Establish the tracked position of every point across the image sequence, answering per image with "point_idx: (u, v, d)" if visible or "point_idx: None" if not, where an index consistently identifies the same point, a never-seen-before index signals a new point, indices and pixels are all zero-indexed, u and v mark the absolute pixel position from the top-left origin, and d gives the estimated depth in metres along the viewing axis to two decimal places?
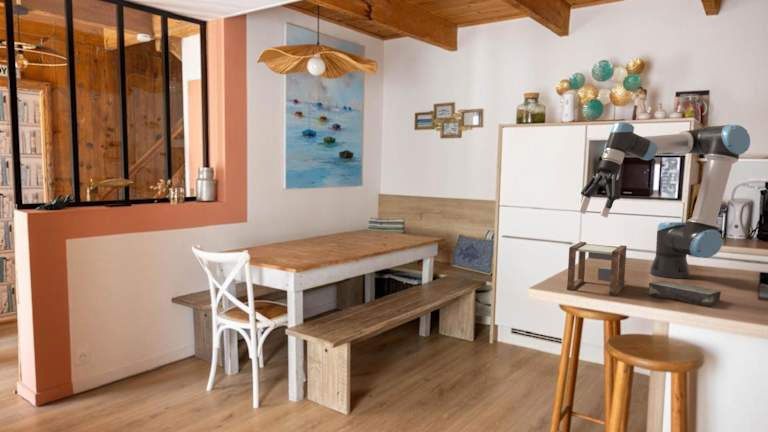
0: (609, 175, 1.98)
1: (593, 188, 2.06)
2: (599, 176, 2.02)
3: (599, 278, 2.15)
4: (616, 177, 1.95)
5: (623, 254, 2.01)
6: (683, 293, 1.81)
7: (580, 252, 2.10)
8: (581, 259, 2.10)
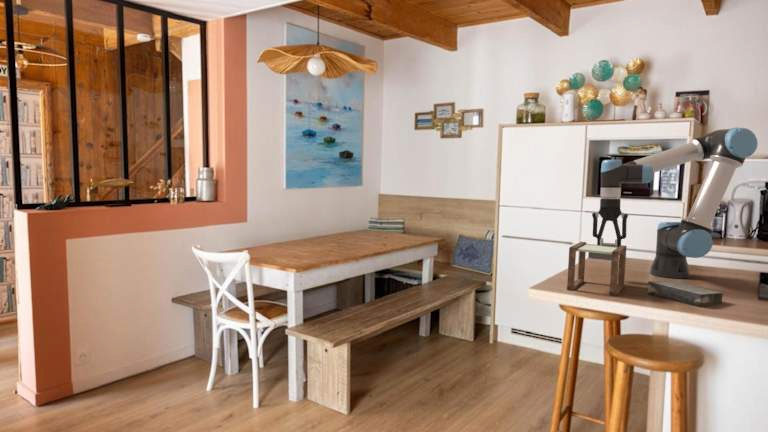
0: (618, 212, 2.11)
1: (603, 227, 2.15)
2: (606, 214, 2.12)
3: None
4: (626, 217, 2.10)
5: (623, 254, 2.01)
6: (677, 293, 1.82)
7: (580, 252, 2.10)
8: (581, 259, 2.10)
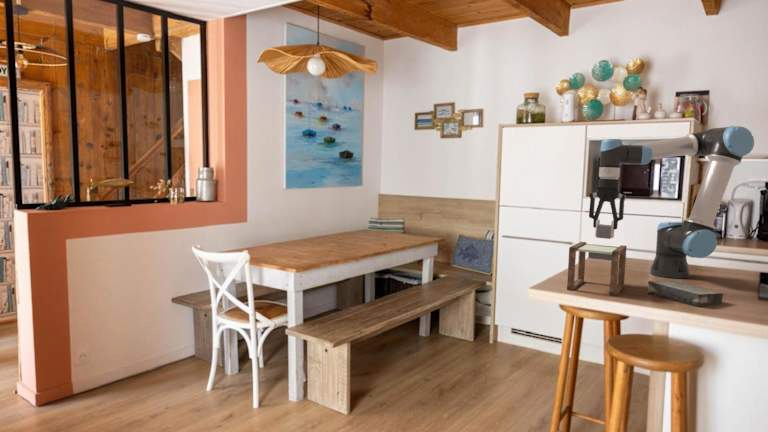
0: (616, 193, 2.06)
1: (600, 208, 2.11)
2: (603, 194, 2.08)
3: (597, 235, 2.10)
4: (624, 199, 2.05)
5: (623, 254, 2.01)
6: (676, 292, 1.82)
7: (580, 252, 2.10)
8: (581, 259, 2.10)
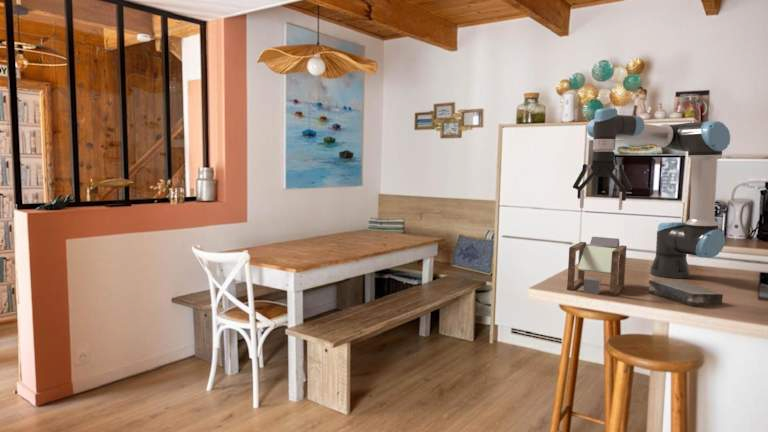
0: (612, 166, 1.92)
1: (589, 181, 1.98)
2: (598, 168, 1.94)
3: None
4: (622, 168, 1.91)
5: (623, 254, 2.01)
6: (673, 292, 1.83)
7: (580, 252, 2.10)
8: None
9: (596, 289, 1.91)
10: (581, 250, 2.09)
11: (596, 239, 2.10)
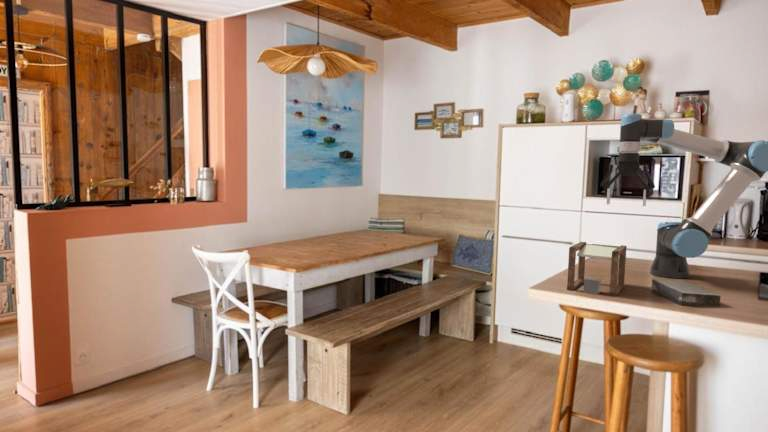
0: (636, 166, 2.11)
1: (615, 179, 2.17)
2: (624, 168, 2.13)
3: None
4: (646, 168, 2.10)
5: (623, 254, 2.01)
6: (668, 291, 1.85)
7: None
8: (581, 259, 2.10)
9: (596, 289, 1.91)
10: None
11: (596, 245, 2.11)
